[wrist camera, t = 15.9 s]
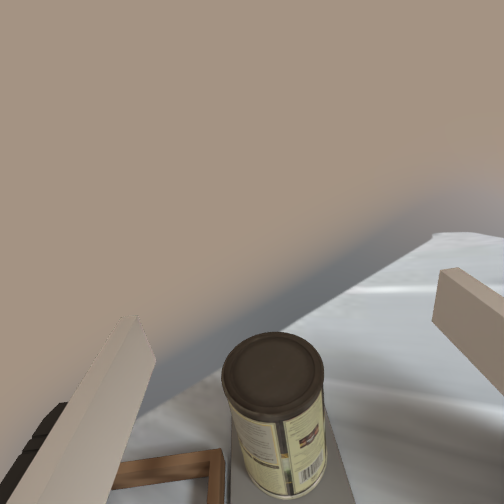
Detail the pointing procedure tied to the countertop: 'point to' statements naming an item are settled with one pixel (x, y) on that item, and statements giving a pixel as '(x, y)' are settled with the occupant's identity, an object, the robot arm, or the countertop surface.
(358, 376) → the countertop surface
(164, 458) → the brown wooden square frame
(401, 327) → the countertop surface
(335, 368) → the countertop surface
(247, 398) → the coffee can
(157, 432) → the countertop surface
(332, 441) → the mat
